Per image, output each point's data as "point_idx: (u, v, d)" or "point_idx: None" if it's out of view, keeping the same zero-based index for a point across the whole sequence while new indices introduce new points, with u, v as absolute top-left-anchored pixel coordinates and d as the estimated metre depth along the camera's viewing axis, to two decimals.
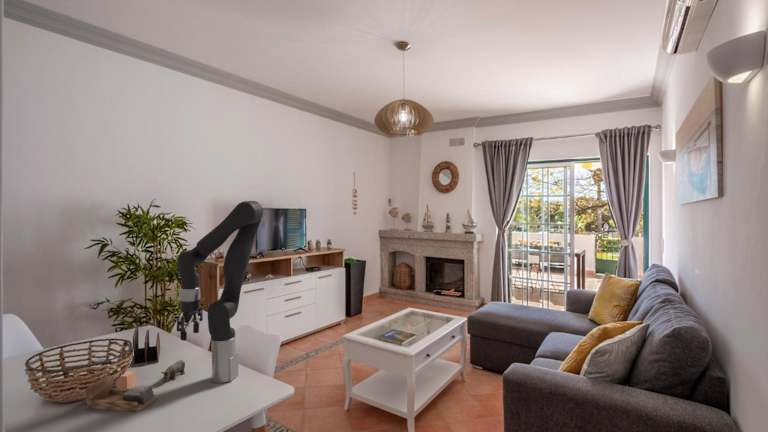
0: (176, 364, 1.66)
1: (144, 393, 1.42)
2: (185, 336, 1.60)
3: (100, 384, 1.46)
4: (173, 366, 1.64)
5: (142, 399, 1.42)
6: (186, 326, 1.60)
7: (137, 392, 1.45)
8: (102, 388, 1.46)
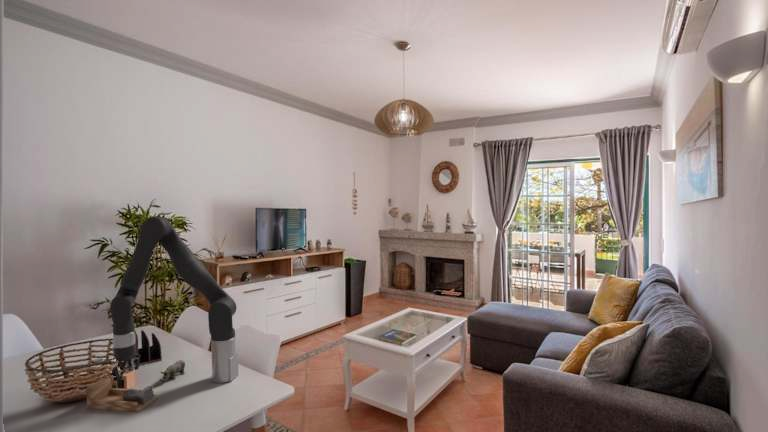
0: (176, 364, 1.66)
1: (144, 393, 1.42)
2: (122, 384, 1.55)
3: (100, 384, 1.46)
4: (173, 366, 1.64)
5: (142, 399, 1.42)
6: (122, 374, 1.54)
7: (137, 392, 1.45)
8: (102, 388, 1.46)
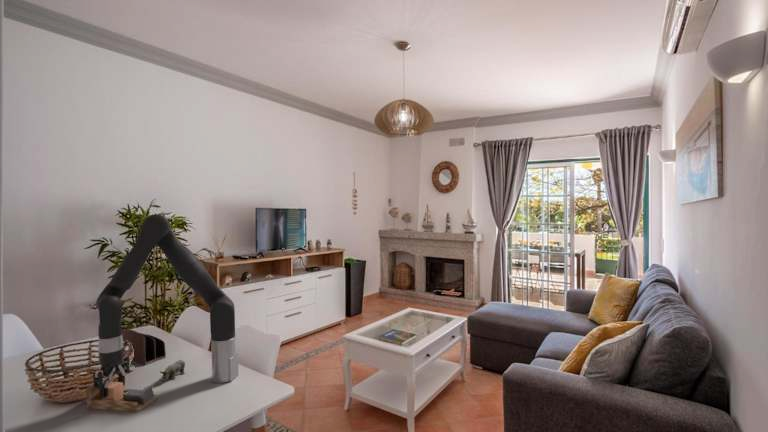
0: (176, 364, 1.66)
1: (144, 393, 1.42)
2: (105, 393, 1.41)
3: None
4: (172, 366, 1.64)
5: (142, 399, 1.42)
6: (106, 381, 1.41)
7: (137, 392, 1.45)
8: None
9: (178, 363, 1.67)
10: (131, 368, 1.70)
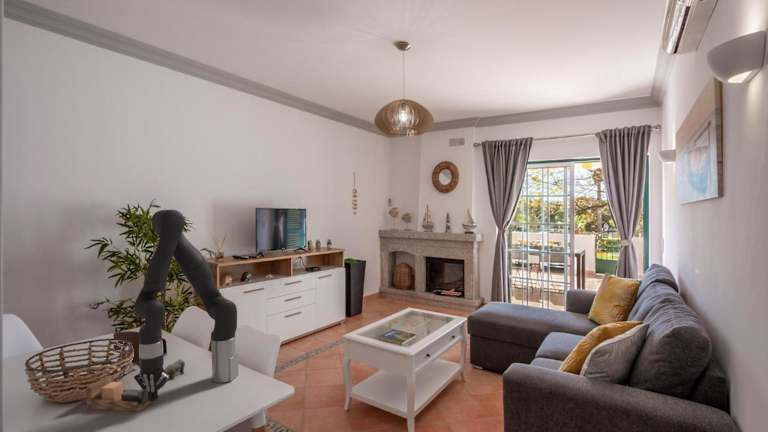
0: (175, 364, 1.66)
1: (142, 393, 1.42)
2: (149, 397, 1.43)
3: (100, 384, 1.46)
4: (172, 366, 1.64)
5: (140, 399, 1.42)
6: (146, 386, 1.42)
7: (135, 392, 1.45)
8: None
9: (178, 363, 1.67)
10: (134, 367, 1.71)
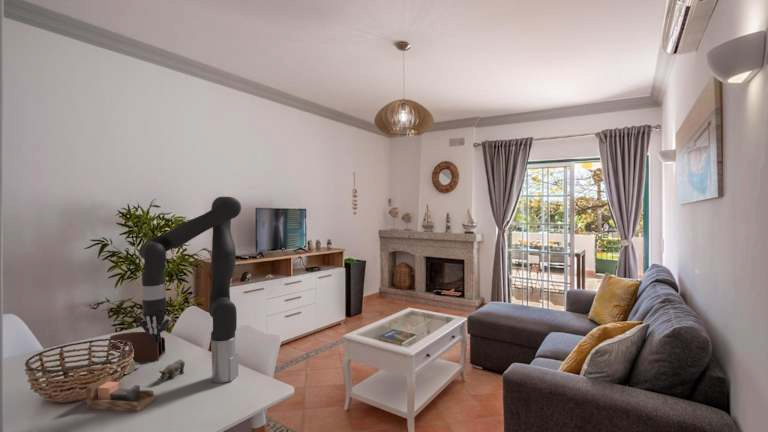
0: (175, 364, 1.66)
1: (131, 392, 1.43)
2: (152, 339, 1.45)
3: (100, 384, 1.46)
4: (171, 366, 1.64)
5: (129, 398, 1.43)
6: (149, 328, 1.44)
7: (124, 391, 1.45)
8: None
9: (177, 363, 1.67)
10: (136, 366, 1.72)
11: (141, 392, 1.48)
